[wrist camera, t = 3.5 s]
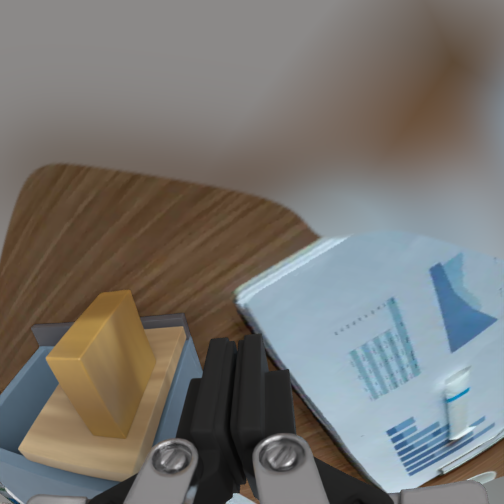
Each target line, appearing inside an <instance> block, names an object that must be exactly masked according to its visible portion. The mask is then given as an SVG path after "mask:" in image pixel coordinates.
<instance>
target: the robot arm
mask: <svg viewBox="0 0 504 504" xmlns="http://www.w3.org/2000/svg"><path fill="white" fill-rule="evenodd" d="M246 478H247V480H248V483H249V485H250V487H251V490H252V492H253V495H254V497H255V498H257V499H258V500H259V501H260V504H489V502H488V495H487V492H486V489H485V487H484V486H483V485H482V484H481V483H479V482H476V481H474V480H465V481H460V482H454V483H449V484H443V485H437V486H430V487H422V488H414V489H405V490H401V492H400V493H385V492H383V491H382V490H380V489H377V488H375V487H373V486H371V485H369V484H366V483H364V482H362V481H360V480H358V479H356V478H354V477H352V476H350V475H348V474H346V473H344V472H342V471H340V470H338V469H336V468H334V467H332V466H330V465H328V464H326V463H325V462H323V461H321V460H319V459H317V458H315V457H314V456H313V454H312V451H311V449H310V446H309V445H308V443H307V441H305V440H304V439H303V438H302V437H300V436H297V435H296V426H295V416H294V406H293V398H292V389H291V382H290V374H289V369H286V370H279V371H271V372H269V371H268V365H267V360H266V354H265V349H264V343H263V338H262V334H252V335H245V336H244V340H239V342H238V351H237V348H236V344H235V342H234V341H229V339H228V338H227V337H226V338H216V339H211V340H210V343H209V348H208V352H207V356H206V361H205V365H204V369H203V374H202V378H192V379H191V380H190V383H189V386H188V390H187V394H186V398H185V402H184V406H183V409H182V413H181V417H180V421H179V425H178V429H177V433H176V437H175V438H170V439H166V440H163V441H161V442H159V443H157V444H156V445H155V446H153V447H152V448H151V450H150V451H149V453H148V454H147V456H146V458H145V460H144V463H143V465H142V467H141V469H140V471H139V472H138V473H136V474H135V475H133V476H131V477H129V478H128V479H126V480H124V481H122V482H121V483H119V484H117V485H115V486H113V487H111V488H110V489H108V490H106V491H104V492H102V493H100V494H98V495H96V496H95V497H94V498H92V499H88V498H87V497H85V496H61V495H48V494H36V495H34V496H32V497H30V498H29V500H28V501H27V503H26V504H226V502H227V501H228V500H230V499H231V498H232V497H233V493H240V485H242V484H246ZM0 504H11V503H3V502H0Z"/></svg>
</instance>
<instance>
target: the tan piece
mask: <svg viewBox="0 0 504 504" xmlns="http://www.w3.org/2000/svg"><path fill="white" fill-rule="evenodd" d="M185 340H186V334H185V331H184V328H183V326H178V327H167V328H155V329H144V328H143V325H142V323H141V320H140V317H139V314H138V311H137V309H136V306H135V303H134V300H133V297H132V294H131V291H130V290H121V291H113V292H104V293H100V294H99V295H98V296H97V298H96V299H95V300H94V301H93V302H92V303H91V304H90V305H89V307H88V308H87V309H86V310H85V311H84V312H83V314H82V315H81V316H80V317H79V318H78V319H77V320H76V322H75V323H74V324H73V325H72V326H71V328H70V329H69V330H68V331H67V332H66V333H65V335H64V336H63V337H62V338H61V339H60V341H59V342H58V343H57V344H56V346H55V347H54V348H53V349H52V350H51V352H50V353H49V354H48V355H47V357H46V361H47V363H48V364H49V366H50V368H51V370H52V372H53V373H54V375H55V377H56V379H57V380H58V382H59V385H58V386H57V388H56V389H55V391H54V392H53V394H52V395H51V397H50V398H49V400H48V401H47V403H46V404H45V406H44V407H43V409H42V410H41V412H40V414H39V415H38V417H37V418H36V420H35V421H34V423H33V425H32V426H31V428H30V430H29V431H28V433H27V434H26V436H25V438H24V439H23V441H22V443H21V444H20V446H19V448H18V450H19V451H20V452H21V453H22V454H23V455H24V457H25V458H26V459H27V460H30V461H33V462H36V463H40V464H43V465H47V466H50V467H54V468H57V469H61V470H65V471H69V472H73V473H77V474H82V475H86V476H91V477H96V478H101V479H107V480H113V481H119V482H122V481H124V480H126V479H128V478H129V477H131V476H133V475H135V474H136V473H138V472H139V471H140V469H141V467H142V465H143V463H144V460H145V458H146V456H147V454H148V453H149V451H150V450H151V448H152V445H153V441H154V438H155V435H156V431H157V428H158V425H159V422H160V418H161V415H162V412H163V409H164V405H165V402H166V399H167V396H168V392H169V389H170V386H171V383H172V380H173V377H174V374H175V371H176V367H177V364H178V361H179V358H180V355H181V352H182V349H183V346H184V343H185Z"/></svg>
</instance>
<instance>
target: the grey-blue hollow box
mask: <svg viewBox="0 0 504 504" xmlns="http://www.w3.org/2000/svg"><path fill="white" fill-rule="evenodd" d="M140 320H141V323H142V325H143V328H144V329H155V328H167V327H178V326H183V328H184V331H185V334H186V340H185V343H184V346H183V349H182V352H181V355H180V358H179V361H178V364H177V367H176V371H175V374H174V377H173V380H172V383H171V386H170V389H169V392H168V396H167V399H166V402H165V405H164V409H163V412H162V415H161V418H160V422H159V425H158V428H157V431H156V435H155V438H154V441H153V445H152V447H153V446H155V445H156V444H157V443H159V442H161V441H163V440H166V439H170V438H175V437H176V433H177V429H178V425H179V421H180V417H181V413H182V409H183V406H184V402H185V398H186V394H187V390H188V386H189V383H190V380H191V379H192V378H202V374H203V371H202V368H201V365H200V362H199V359H198V356H197V353H196V350H195V347H194V344H193V340H192V337H191V336H190V335H191V334H190V331H189V328H188V325H187V321H186V318H185V315H184V313H177V314H167V315H157V316H147V317H140ZM74 323H75V322H68V323H50V324H35V325H34V326H33V327H32V328H31V329H32V331H33V334H34V336H35V338H36V340H37V342H38V344H39V346H40V347H39V349H38V350H37V351H36V352H35V353H34V354H33V356H32V357H31V358H30V359H29V360H28V362H27V363H26V364H25V365H24V366H23V368H22V369H21V370H20V371H19V372H18V374H17V375H16V376H15V377H14V379H13V380H12V381H11V382H10V384H9V385H8V386H7V387H6V389H5V390H4V391H3V393H2V394H1V395H0V482H1V483H2V484H3V485H4V486H5V487H6V488H7V489H8V490H9V491H10V492H12V493H13V494H14V495H15V496H16V497H17V498H18V499H19V500H21V501H22V502H23V503H24V504H26V503H27V501H28V500H29V498H30V497H32V496H34V495H36V494H48V495H61V496H85V497H87V498H88V499H92V498H94V497H95V496H96V495H98V494H100V493H102V492H104V491H106V490H108V489H110V488H111V487H113V486H115V485H117V484H119V483H121V482H119V481H113V480H107V479H101V478H96V477H91V476H86V475H82V474H77V473H73V472H69V471H65V470H61V469H57V468H54V467H50V466H47V465H43V464H40V463H36V462H33V461H30V460H27V459H26V458H25V457H24V455H23V454H22V453H21V452H20V451H19V450H18V448H19V446H20V444H21V443H22V441H23V439H24V438H25V436H26V434H27V433H28V431H29V430H30V428H31V426H32V425H33V423H34V421H35V420H36V418H37V417H38V415H39V414H40V412H41V410H42V409H43V407H44V406H45V404H46V403H47V401H48V400H49V398H50V397H51V395H52V394H53V392H54V391H55V389H56V388H57V386H58V385H59V382H58V380H57V379H56V377H55V375H54V373H53V372H52V370H51V368H50V366H49V364H48V363H47V361H46V357H47V355H48V354H49V353H50V352H51V350H52V349H53V348H54V347H55V346H56V344H57V343H58V342H59V341H60V339H61V338H62V337H63V336H64V335H65V333H66V332H67V331H68V330H69V329H70V328H71V326H72V325H73V324H74Z"/></svg>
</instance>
